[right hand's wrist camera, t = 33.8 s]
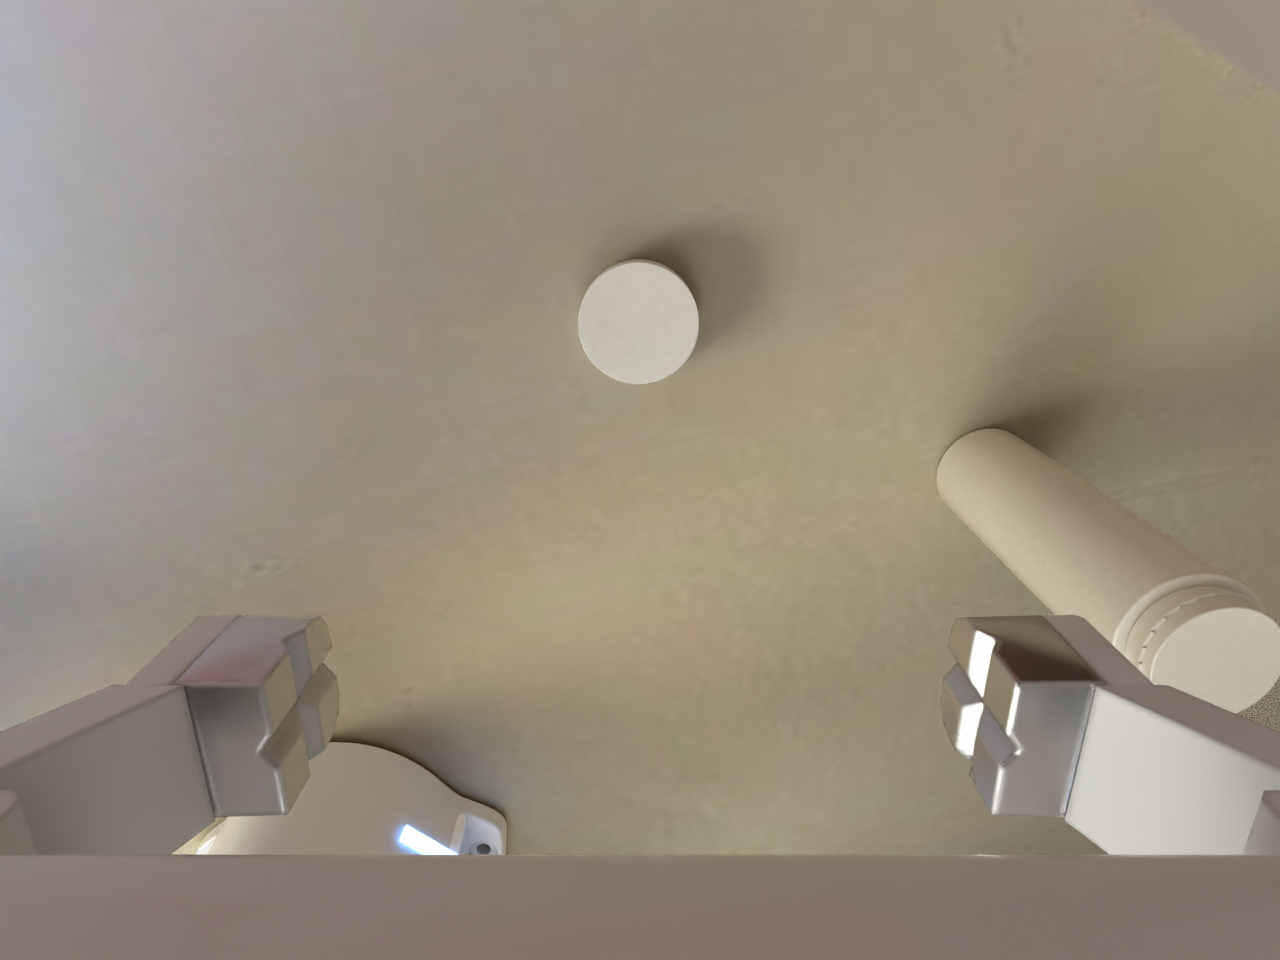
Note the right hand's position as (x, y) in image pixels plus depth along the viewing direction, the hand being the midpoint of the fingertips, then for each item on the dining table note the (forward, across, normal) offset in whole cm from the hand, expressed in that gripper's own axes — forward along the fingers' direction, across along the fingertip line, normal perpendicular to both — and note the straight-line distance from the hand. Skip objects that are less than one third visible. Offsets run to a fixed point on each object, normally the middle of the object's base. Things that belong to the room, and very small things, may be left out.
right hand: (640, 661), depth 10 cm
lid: (+27, 0, 0) cm, 27 cm away
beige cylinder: (+28, +17, -8) cm, 34 cm away
